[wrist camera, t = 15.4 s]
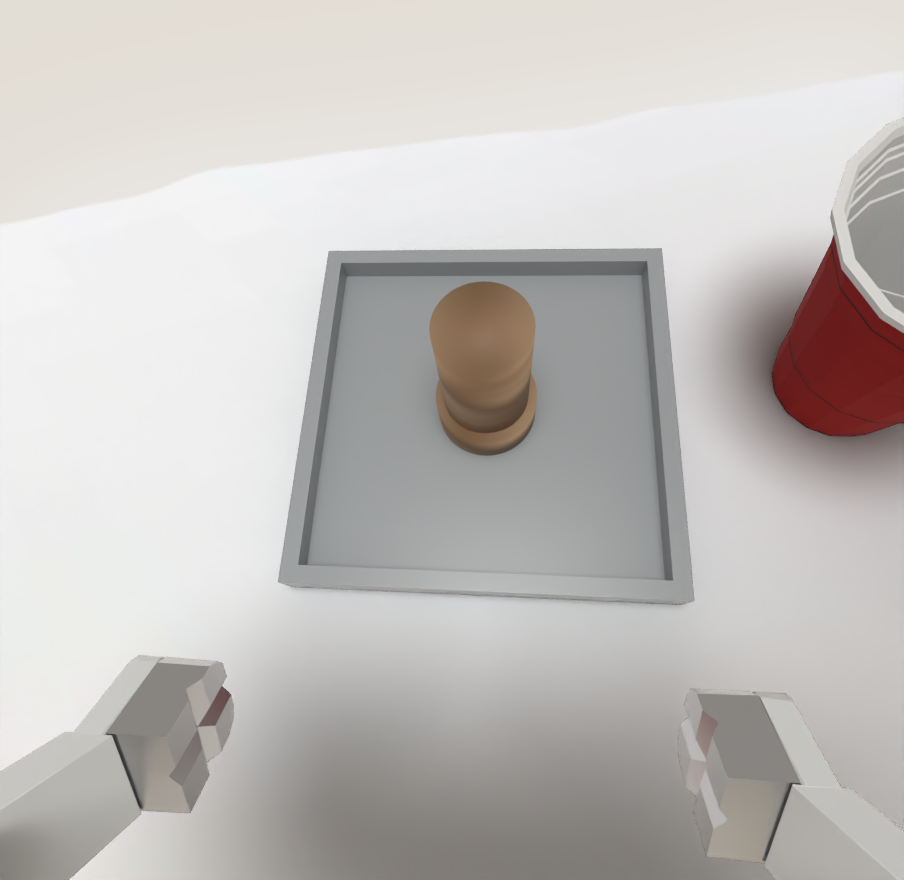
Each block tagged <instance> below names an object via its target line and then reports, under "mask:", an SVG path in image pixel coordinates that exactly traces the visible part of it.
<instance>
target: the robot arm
mask: <svg viewBox="0 0 904 880" xmlns="http://www.w3.org/2000/svg"><path fill="white" fill-rule="evenodd" d="M226 677H227V675H226V672H225V669H224V665H223V663H221V662H217V661H208V660H196V659H185V658H173V657H157V656H144V655H139V656H137V657H136V658H134V659H132V660H131V661H130V662H129V663H128V664H127V665H126V667H125V668H124V669H123V671H122V672H121V673H120V674H119V676H118V677H117V678H116V679H115V681H114V682H113V683H112V684H111V686H110V687H109V688H108V689H107V691H106V692H105V693H104V694H103V696H102V697H101V698H100V700H99V701H98V702H97V703H96V705H95V706H94V707H93V708H92V710H91V711H90V712H89V713H88V715H87V716H86V717H85V718H84V720H83V721H82V722H81V723H80V725H79V726H78V727H77V729H76V730H75V731H74V732H64V733H63V734H61V735H59V736H58V737H56V738H54V739H53V740H51V741H50V742H48V743H46V744H45V745H43V746H41V747H40V748H38V749H36V750H35V751H33V752H32V753H30V754H28V755H27V756H25V757H23V758H22V759H20V760H18V761H17V762H15V763H13V764H12V765H10V766H9V767H7V768H5V769H4V770H2V771H0V880H69V879H70V878H71V877H72V876H74V875H75V874H76V873H77V872H78V871H79V870H80V869H81V868H82V867H83V866H85V865H86V864H87V863H88V862H89V861H90V860H91V859H92V858H93V857H94V856H96V855H97V854H98V853H99V852H100V851H101V850H102V849H103V848H104V847H105V846H107V845H108V844H109V843H110V842H111V841H112V840H113V839H114V838H115V837H116V836H117V835H119V834H120V833H121V832H122V831H123V830H124V829H125V828H126V827H127V826H128V825H130V824H131V823H132V822H133V821H134V820H135V819H136V818H137V817H138V816H139V815H141V811H158V812H177V813H191V811H192V809H193V807H194V805H195V803H196V801H197V799H198V797H199V795H200V793H201V791H202V789H203V787H204V785H205V783H206V781H207V779H208V777H209V769H208V764H207V762H208V761H210V760H211V759H212V758H213V757H215V756H216V755H217V754H219V753H220V752H221V751H222V749H223V747H224V745H225V743H226V741H227V739H228V737H229V734H230V730H231V726H232V722H233V716H234V705H233V700H232V696H231V694H230V693H229V692H228V691H227V690H226V689H225V688H223V687H222V684H223V683H224V681H225V679H226ZM684 705H685V708H686V711H687V714H688V718H687V719H686V720H685V721H683V722H682V723H681V724H680V729H679V735H678V755H679V761H680V767H681V772H682V775H683V779H684V782H685V785H686V786H687V787H688V788H689V789H690V791H691V792H692V793H693V794H694V795H695V796H696V797H697V799H696V803H695V807H694V812H693V813H694V817H695V820H696V824H697V827H698V830H699V834H700V837H701V840H702V844H703V847H704V850H705V854H706V857H714V858H723V859H732V860H741V861H750V862H759V863H765V865H764V867H765V868H766V869H767V870H768V872H769V873H770V874H771V875H772V876H773V878H774V879H775V880H904V831H903V830H902V829H901V828H899V827H898V826H897V825H896V824H894V823H893V822H892V821H891V820H889V819H888V818H887V817H886V816H885V815H883V814H882V813H881V812H880V811H878V810H877V809H876V808H875V807H873V806H872V805H871V804H870V803H868V802H867V801H866V800H865V799H864V798H862V797H861V796H860V795H859V794H857V793H856V792H855V791H854V790H852V789H848V788H841V787H840V785H839V783H838V781H837V779H836V777H835V776H834V774H833V772H832V770H831V768H830V767H829V765H828V763H827V761H826V759H825V758H824V756H823V754H822V752H821V750H820V749H819V747H818V745H817V743H816V741H815V740H814V738H813V736H812V734H811V732H810V731H809V729H808V727H807V725H806V723H805V722H804V720H803V718H802V716H801V714H800V713H799V711H798V709H797V707H796V705H795V704H794V702H793V700H792V699H791V698H790V697H789V696H788V695H787V694H786V693H769V692H750V691H733V690H712V689H690V690H689V692H688V693H687V696H686V700H685V704H684Z"/></svg>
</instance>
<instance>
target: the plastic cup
mask: <svg viewBox="0 0 904 880" xmlns="http://www.w3.org/2000/svg"><path fill="white" fill-rule="evenodd" d="M830 219H831V223H832V228H833V232H834V235H833V238H832V242H831V244H830V246H829V248H828V250H827V252H826V254H825V256H824V258H823V260H822V262H821V264H820V266H819V268H818V270H817V272H816V274H815V276H814V278H813V280H812V282H811V284H810V286H809V288H808V290H807V292H806V294H805V296H804V298H803V300H802V302H801V304H800V306H799V308H798V310H797V312H796V314H795V318H794V321H793V324H792V326H791V328H790V330H789V332H788V334H787V335H786V337H785V339H784V341H783V343H782V344H781V346H780V348H779V351H778V355H777V358H776V361H775V364H774V369H773V372H772V377H773V383H774V389H775V394H776V396H777V397H778V399H779V400H780V402H781V403H782V405H783V406H784V408H785V410H786V411H787V413H789V414H790V415H791V416H793V417H794V418H795V419H797V420H798V421H799V422H800V423H802V424H803V425H804V426H806V427H807V428H810V429H813V430H816V431H818V432H821V433H824V434H827V435H830V436H856V435H865V434H868V433H871V432H874V431H877V430H880V429H883V428H886V427H889V426H892V425H895V424H898V423H904V117H903V118H901V119H898V120H896V121H893V122H891V123H888V124H886V125H885V126H884V127H883V128H882V129H881V130H880V131H879V132H878V133H877V134H876V135H875V136H874V137H873V138H872V139H871V140H869V141H868V142H867V143H866V144H865V145H864V146H863V147H862V148H861V149H860V150H859V151H858V152H857V153H856V154H855V155H854V156H853V157H852V158H851V159H850V160H849V161H847V165H846V168H845V171H844V174H843V177H842V180H841V183H840V186H839V189H838V192H837V195H836V198H835V201H834V204H833V207H832V211H831V217H830Z"/></svg>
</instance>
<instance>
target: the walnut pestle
mask: <svg viewBox="0 0 904 880" xmlns="http://www.w3.org/2000/svg"><path fill="white" fill-rule="evenodd" d="M535 329H536V323H535V317H534V313H533V311H532V308H531V307H530V305H529V303H528V302H527V301H526V299H525V298H524V297H523V296H522V295H521V294H520V293H518V292H517V291H515V290H514V289H512V288H510V287H508V286H506V285H503V284H500V283H495V282H486V281H482V282H473V283H468V284H465V285H462V286H460V287H458V288H456V289H454V290H452V291H451V292H449V293H448V294H447V295H445V296H444V297H443V298H442V299H441V300H440V302H439V303H438V304H437V306H436V307H435V309H434V311H433V313H432V316H431V319H430V325H429V333H430V339H431V343H432V348H433V352H434V357H435V361H436V366H437V370H438V375H439V381H438V385H437V389H436V404H437V408H438V412H439V416H440V420H441V423H442V427H443V429H444V431H445V433H446V434H447V436H448V437H449V439H450V440H451V441H452V442H453V443H454V444H455V445H456V446H458V447H459V448H461V449H463V450H465V451H467V452H469V453H472V454H476V455H484V456H489V455H497V454H501V453H505V452H507V451H509V450H511V449H513V448H514V447H516V446H517V445H518V444H520V443H521V442H522V441H523V440H524V439H525V438H526V436H527V435H528V433H529V432H530V430H531V428H532V425H533V422H534V417H535V410H536V402H537V387H536V383H535V380H534V378H533V376H532V374H531V368H532V358H533V349H534V339H535Z"/></svg>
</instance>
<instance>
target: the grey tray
mask: <svg viewBox="0 0 904 880" xmlns="http://www.w3.org/2000/svg"><path fill="white" fill-rule="evenodd" d="M482 281H486V282H495V283H500V284H503V285H506V286H508V287H510V288H512V289H514V290H515V291H517V292H518V293H520V294H521V295H522V296H523V297H524V298H525V299H526V301H527V302H528V303H529V305H530V307H531V308H532V311H533V313H534V317H535V323H536V329H535V339H534V349H533V358H532V368H531V374H532V376H533V378H534V380H535V383H536V387H537V402H536V410H535V417H534V422H533V425H532V428H531V430H530V432H529V433H528V435H527V436H526V438H525V439H524V440H523V441H522V442H521V443H520V444H518V445H517V446H516V447H514V448H513V449H511V450H509V451H507V452H505V453H501V454H497V455H489V456H484V455H476V454H472V453H469V452H467V451H465V450H463V449H461V448H459V447H458V446H456V445H455V444H454V443H453V442H452V441H451V440H450V439H449V437H448V436H447V434H446V433H445V431H444V429H443V427H442V423H441V420H440V416H439V412H438V408H437V404H436V389H437V385H438V381H439V375H438V370H437V366H436V361H435V357H434V352H433V348H432V343H431V339H430V333H429V325H430V319H431V316H432V313H433V311H434V309H435V307H436V306H437V304H438V303H439V302H440V300H441V299H442V298H443V297H444V296H445V295H447V294H448V293H449V292H451V291H452V290H454V289H456V288H458V287H460V286H462V285H465V284H468V283H473V282H482ZM278 582H279V583H282V584H285V585H288V586H291V587H309V588H330V589H352V590H374V591H396V592H418V593H440V594H462V595H484V596H506V597H528V598H549V599H571V600H593V601H615V602H637V603H659V604H681V605H682V604H685V603H689V602H693V601H694V590H693V580H692V569H691V558H690V547H689V536H688V526H687V515H686V504H685V493H684V483H683V472H682V461H681V450H680V440H679V429H678V418H677V407H676V396H675V386H674V375H673V364H672V353H671V343H670V332H669V321H668V310H667V299H666V289H665V278H664V267H663V256H662V248H654V249H528V250H401V251H329V253H328V259H327V266H326V272H325V279H324V285H323V292H322V298H321V305H320V311H319V318H318V324H317V331H316V338H315V344H314V351H313V357H312V364H311V370H310V377H309V383H308V390H307V396H306V403H305V409H304V416H303V422H302V429H301V435H300V442H299V448H298V455H297V461H296V468H295V474H294V481H293V487H292V494H291V500H290V507H289V513H288V520H287V527H286V533H285V540H284V546H283V553H282V559H281V566H280V572H279V579H278Z"/></svg>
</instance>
